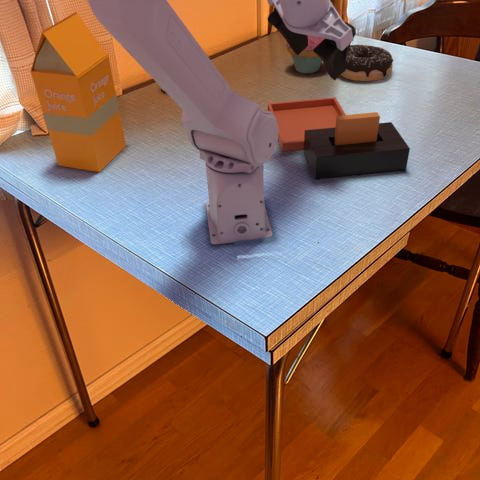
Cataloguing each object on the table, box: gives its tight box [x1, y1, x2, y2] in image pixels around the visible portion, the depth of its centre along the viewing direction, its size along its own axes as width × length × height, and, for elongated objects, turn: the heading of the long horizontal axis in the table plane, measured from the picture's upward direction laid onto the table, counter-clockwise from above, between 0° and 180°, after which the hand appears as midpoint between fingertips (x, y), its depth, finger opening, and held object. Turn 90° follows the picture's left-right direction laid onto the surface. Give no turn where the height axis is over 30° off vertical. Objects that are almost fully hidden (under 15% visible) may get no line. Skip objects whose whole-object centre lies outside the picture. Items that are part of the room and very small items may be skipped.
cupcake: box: [285, 35, 325, 74], centre depth 109 cm, size 9×8×12 cm
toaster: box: [303, 121, 411, 181], centre depth 84 cm, size 9×14×4 cm, turn 97°
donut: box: [340, 44, 394, 82], centre depth 109 cm, size 11×12×4 cm
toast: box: [334, 111, 381, 146], centre depth 83 cm, size 1×6×7 cm, turn 97°
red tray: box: [267, 96, 346, 152], centre depth 94 cm, size 15×12×2 cm
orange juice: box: [30, 11, 127, 173], centre depth 84 cm, size 8×9×20 cm
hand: (319, 61), depth 80 cm, fingers open, 7 cm apart
